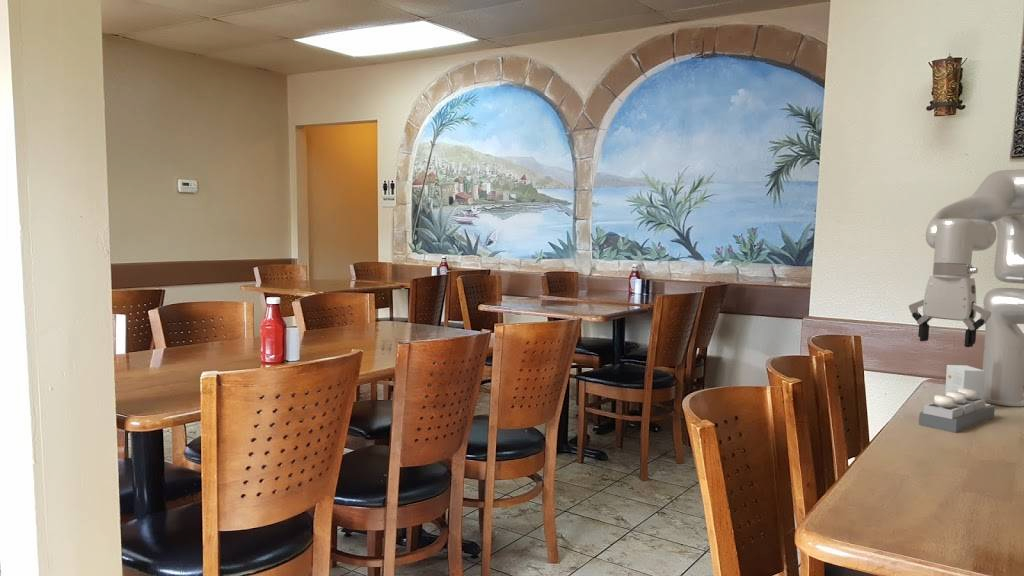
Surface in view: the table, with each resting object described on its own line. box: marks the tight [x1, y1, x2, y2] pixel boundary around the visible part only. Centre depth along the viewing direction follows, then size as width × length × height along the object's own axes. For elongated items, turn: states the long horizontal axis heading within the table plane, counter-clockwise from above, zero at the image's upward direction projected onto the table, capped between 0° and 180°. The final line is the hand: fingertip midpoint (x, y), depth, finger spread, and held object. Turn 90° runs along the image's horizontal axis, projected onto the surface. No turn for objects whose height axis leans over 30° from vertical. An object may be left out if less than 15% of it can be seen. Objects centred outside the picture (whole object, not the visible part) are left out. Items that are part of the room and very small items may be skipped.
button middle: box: [946, 391, 966, 403], centre depth 173 cm, size 4×4×2 cm
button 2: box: [958, 388, 977, 400], centre depth 177 cm, size 4×4×2 cm
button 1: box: [933, 394, 954, 407], centre depth 168 cm, size 4×4×2 cm
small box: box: [944, 364, 985, 399], centre depth 190 cm, size 8×6×10 cm
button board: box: [918, 398, 996, 434], centre depth 174 cm, size 24×8×5 cm, turn 128°
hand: (945, 343), depth 167 cm, fingers open, 9 cm apart
